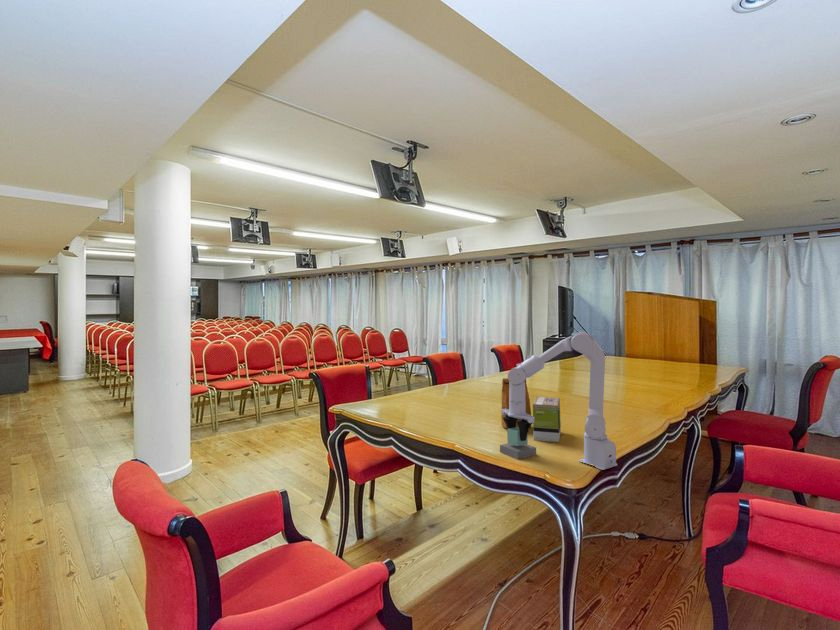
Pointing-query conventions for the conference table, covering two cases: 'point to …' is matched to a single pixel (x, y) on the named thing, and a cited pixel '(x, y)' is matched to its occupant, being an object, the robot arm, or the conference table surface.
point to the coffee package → (506, 399)
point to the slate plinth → (518, 450)
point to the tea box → (546, 419)
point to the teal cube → (515, 437)
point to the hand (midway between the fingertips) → (517, 438)
